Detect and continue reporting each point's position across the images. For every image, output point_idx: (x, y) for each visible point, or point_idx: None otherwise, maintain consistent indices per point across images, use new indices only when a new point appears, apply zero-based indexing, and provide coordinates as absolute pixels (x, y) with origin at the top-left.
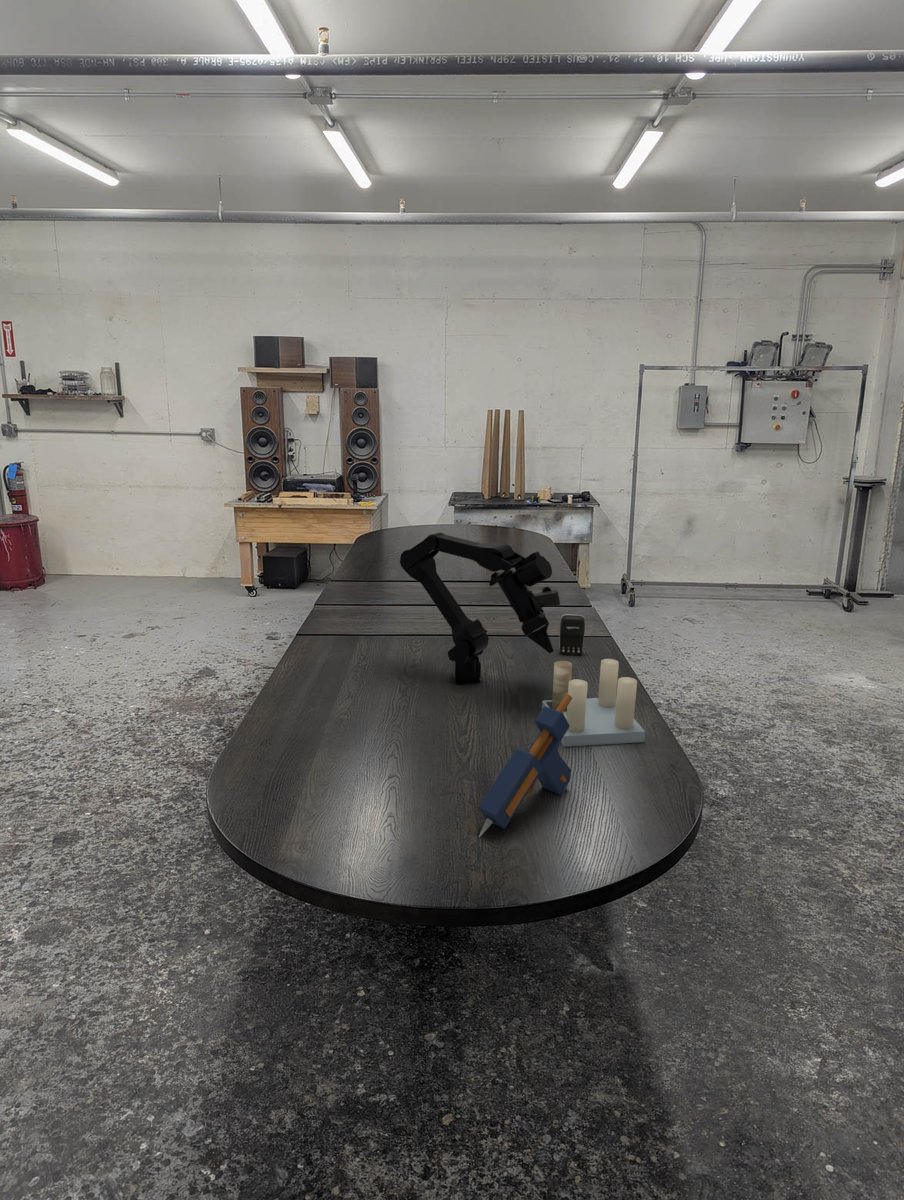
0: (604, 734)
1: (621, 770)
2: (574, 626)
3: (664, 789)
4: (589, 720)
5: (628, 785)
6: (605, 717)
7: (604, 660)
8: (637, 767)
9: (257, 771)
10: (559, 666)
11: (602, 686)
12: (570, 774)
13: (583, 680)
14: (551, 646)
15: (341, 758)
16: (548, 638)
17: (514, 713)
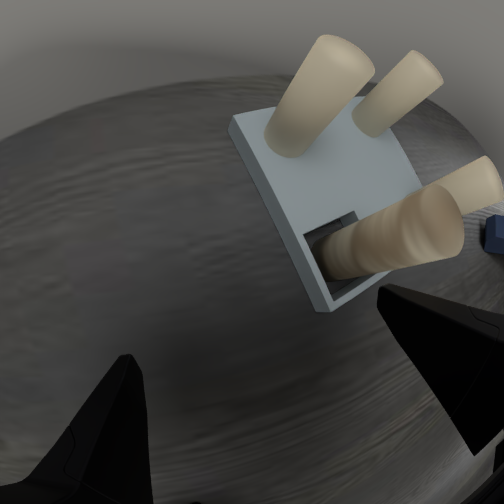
0: (408, 161)
1: (433, 156)
2: None
3: (435, 120)
4: (380, 182)
5: (449, 155)
6: (355, 148)
7: (345, 64)
8: (419, 135)
9: (473, 491)
10: (463, 232)
11: (331, 121)
12: (492, 216)
13: (482, 162)
14: (417, 293)
15: (467, 468)
16: (471, 310)
17: (349, 370)
